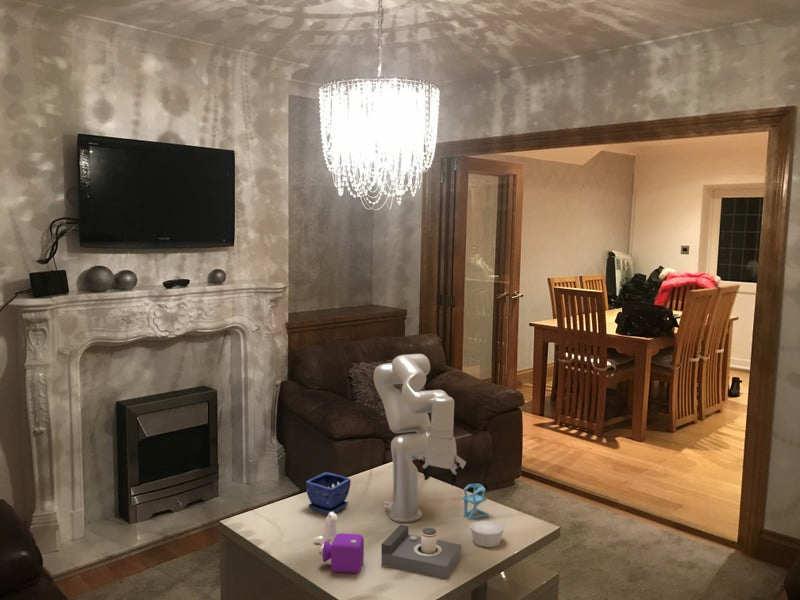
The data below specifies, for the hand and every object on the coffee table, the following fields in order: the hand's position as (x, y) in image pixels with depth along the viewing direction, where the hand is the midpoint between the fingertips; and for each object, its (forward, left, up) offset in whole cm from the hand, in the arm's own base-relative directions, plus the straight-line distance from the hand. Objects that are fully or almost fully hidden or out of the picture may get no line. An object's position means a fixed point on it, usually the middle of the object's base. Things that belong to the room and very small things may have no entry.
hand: (440, 481), depth 221 cm
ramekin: (+14, +11, -24) cm, 30 cm away
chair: (+4, +30, -24) cm, 39 cm away
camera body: (-2, -11, -23) cm, 26 cm away
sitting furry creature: (-35, -14, -24) cm, 45 cm away
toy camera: (-24, -25, -24) cm, 42 cm away
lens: (0, -11, -22) cm, 25 cm away
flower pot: (-50, +13, -24) cm, 57 cm away
